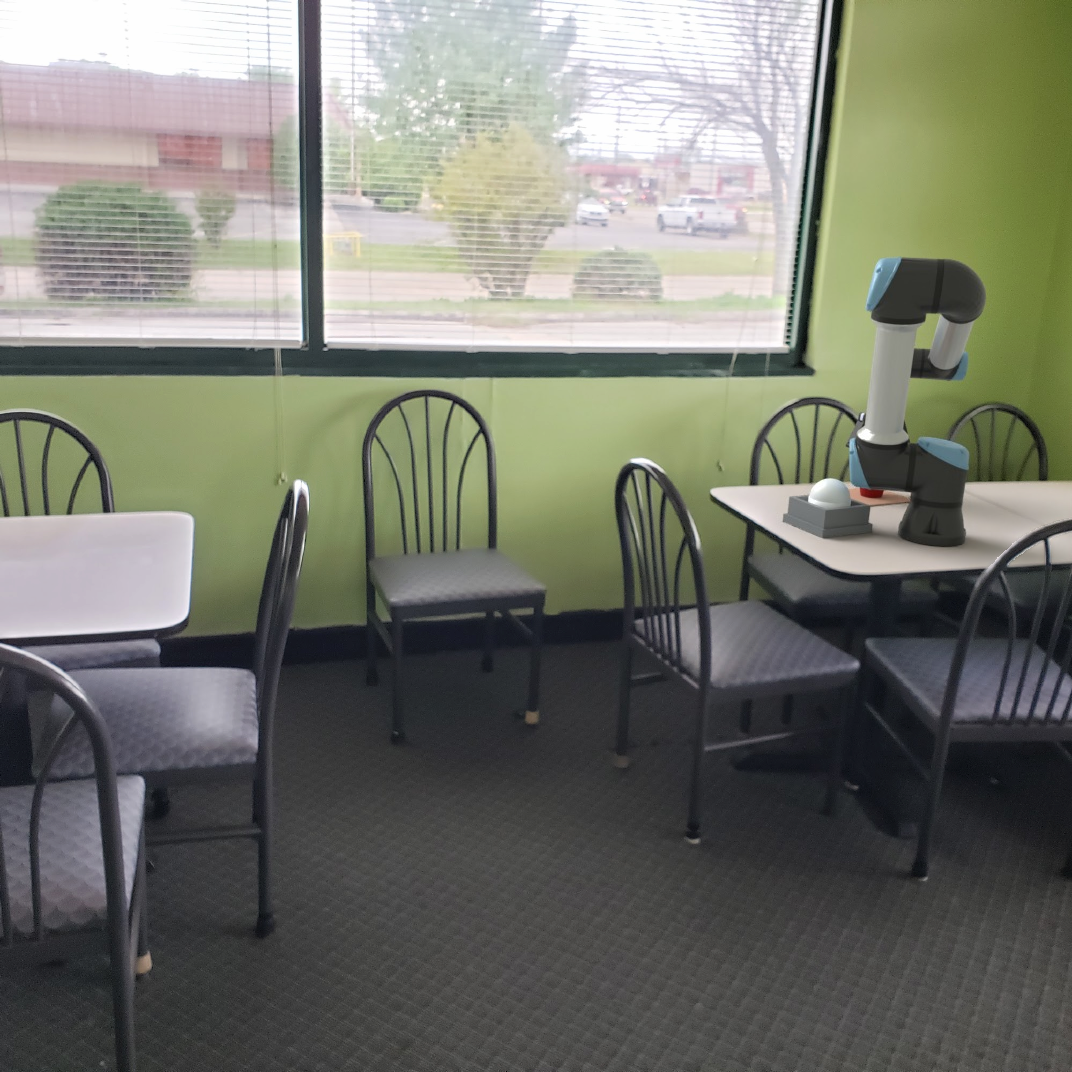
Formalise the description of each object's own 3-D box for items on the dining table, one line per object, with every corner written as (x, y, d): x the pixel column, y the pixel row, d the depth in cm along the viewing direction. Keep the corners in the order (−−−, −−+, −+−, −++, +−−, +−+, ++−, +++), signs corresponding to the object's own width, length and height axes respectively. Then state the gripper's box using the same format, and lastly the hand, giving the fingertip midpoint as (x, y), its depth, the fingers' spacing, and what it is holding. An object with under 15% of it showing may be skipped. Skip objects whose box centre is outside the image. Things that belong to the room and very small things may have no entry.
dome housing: (871, 531, 247) (874, 506, 245) (822, 537, 241) (825, 511, 239) (830, 516, 260) (833, 491, 258) (782, 521, 254) (785, 496, 252)
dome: (857, 520, 248) (862, 482, 245) (824, 524, 244) (829, 485, 241) (830, 510, 256) (834, 472, 254) (798, 513, 252) (802, 475, 250)
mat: (915, 501, 277) (915, 500, 277) (869, 506, 271) (869, 505, 271) (874, 487, 291) (874, 486, 291) (829, 492, 285) (829, 490, 285)
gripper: (909, 390, 281) (900, 465, 287) (837, 393, 271) (829, 472, 277) (930, 394, 275) (919, 471, 281) (857, 398, 265) (847, 478, 271)
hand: (874, 472), depth 279 cm, fingers open, 13 cm apart
